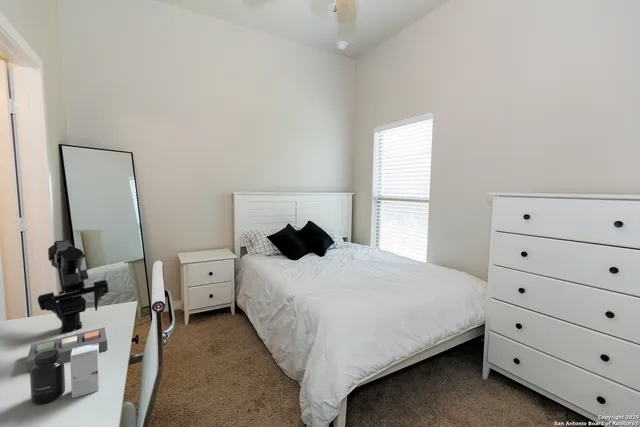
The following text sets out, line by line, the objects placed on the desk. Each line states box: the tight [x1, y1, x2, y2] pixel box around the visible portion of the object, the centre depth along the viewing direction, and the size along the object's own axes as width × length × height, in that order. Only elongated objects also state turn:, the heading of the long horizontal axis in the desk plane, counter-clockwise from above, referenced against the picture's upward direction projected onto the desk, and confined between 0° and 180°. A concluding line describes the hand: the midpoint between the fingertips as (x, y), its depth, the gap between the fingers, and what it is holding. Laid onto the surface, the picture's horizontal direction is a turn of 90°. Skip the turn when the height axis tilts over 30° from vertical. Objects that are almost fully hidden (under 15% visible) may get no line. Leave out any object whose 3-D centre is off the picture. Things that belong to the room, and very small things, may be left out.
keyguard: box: [25, 327, 109, 373], centre depth 101 cm, size 12×20×4 cm, turn 129°
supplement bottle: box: [29, 350, 66, 406], centre depth 80 cm, size 7×7×12 cm
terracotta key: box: [84, 331, 99, 342], centre depth 105 cm, size 4×4×2 cm
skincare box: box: [69, 343, 101, 399], centre depth 82 cm, size 6×4×12 cm
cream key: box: [62, 336, 78, 347], centre depth 101 cm, size 4×4×2 cm
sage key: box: [37, 341, 55, 354], centre depth 97 cm, size 4×4×2 cm
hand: (79, 314), depth 100 cm, fingers open, 9 cm apart
